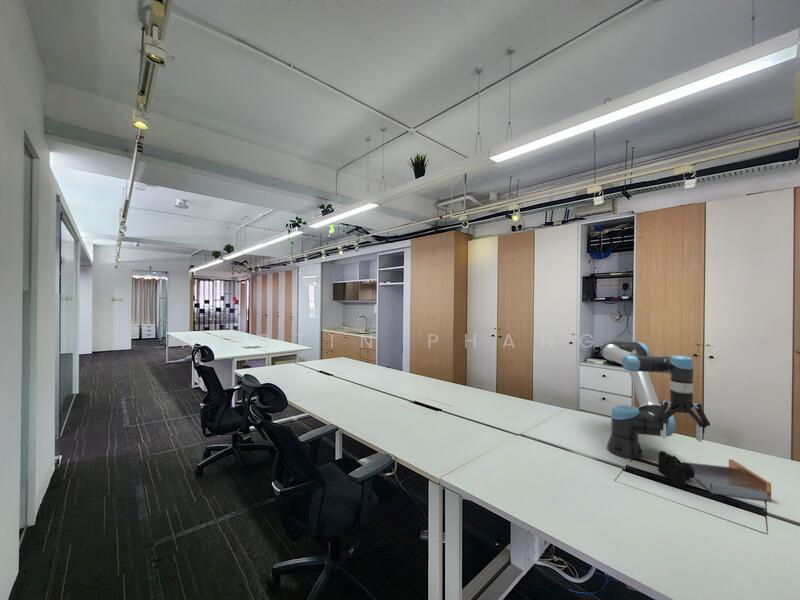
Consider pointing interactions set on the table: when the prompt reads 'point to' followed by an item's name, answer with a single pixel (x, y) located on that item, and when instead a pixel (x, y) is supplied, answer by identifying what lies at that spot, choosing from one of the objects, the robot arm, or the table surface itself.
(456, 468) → the table surface
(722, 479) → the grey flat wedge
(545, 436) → the table surface
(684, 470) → the camera
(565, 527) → the table surface
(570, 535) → the table surface
